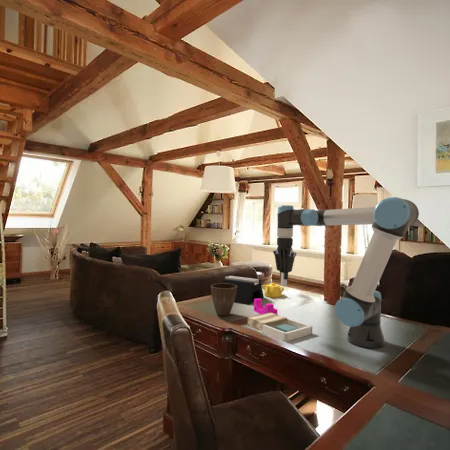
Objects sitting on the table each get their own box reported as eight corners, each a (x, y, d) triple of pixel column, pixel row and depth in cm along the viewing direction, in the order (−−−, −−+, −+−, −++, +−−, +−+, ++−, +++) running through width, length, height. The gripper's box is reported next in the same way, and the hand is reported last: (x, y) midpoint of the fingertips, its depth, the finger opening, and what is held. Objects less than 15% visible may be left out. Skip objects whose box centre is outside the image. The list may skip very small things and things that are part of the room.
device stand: (248, 306, 203) (248, 282, 203) (218, 300, 215) (218, 278, 215) (263, 299, 222) (264, 277, 222) (235, 294, 234) (235, 274, 234)
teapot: (285, 300, 220) (285, 285, 220) (266, 300, 218) (267, 285, 218) (278, 295, 233) (279, 281, 233) (261, 296, 231) (261, 281, 231)
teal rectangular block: (296, 334, 153) (296, 327, 153) (286, 337, 149) (286, 330, 149) (285, 330, 159) (285, 323, 159) (275, 332, 155) (275, 326, 155)
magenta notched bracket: (277, 317, 179) (277, 304, 179) (267, 318, 177) (267, 305, 177) (263, 310, 193) (263, 298, 193) (253, 311, 190) (254, 298, 190)
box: (312, 333, 153) (312, 326, 153) (285, 341, 142) (285, 333, 142) (288, 325, 165) (288, 318, 165) (262, 332, 154) (262, 325, 154)
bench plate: (287, 325, 164) (287, 318, 164) (264, 331, 155) (264, 323, 155) (270, 320, 174) (270, 312, 174) (247, 325, 164) (247, 317, 164)
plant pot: (231, 309, 193) (232, 282, 193) (240, 316, 179) (241, 287, 179) (207, 311, 188) (207, 283, 188) (214, 318, 174) (215, 288, 174)
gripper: (300, 237, 155) (299, 287, 155) (279, 236, 165) (278, 283, 165) (290, 238, 150) (289, 289, 150) (269, 236, 160) (268, 284, 160)
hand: (283, 285), depth 158 cm, fingers closed
